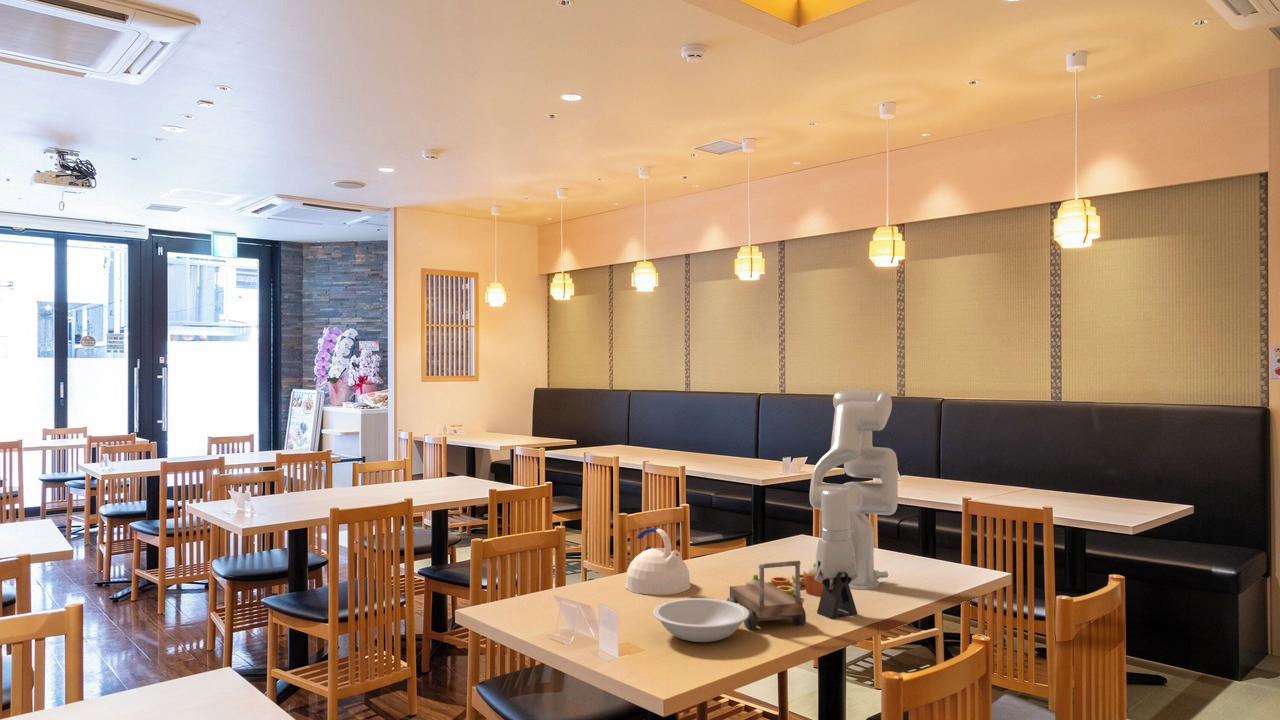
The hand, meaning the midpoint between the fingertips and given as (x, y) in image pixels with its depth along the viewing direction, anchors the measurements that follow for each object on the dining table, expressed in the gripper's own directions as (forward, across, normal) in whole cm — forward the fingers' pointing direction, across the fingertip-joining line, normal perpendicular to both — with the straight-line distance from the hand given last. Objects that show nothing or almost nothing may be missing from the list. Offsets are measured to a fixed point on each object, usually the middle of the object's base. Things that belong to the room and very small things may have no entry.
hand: (836, 602), depth 225 cm
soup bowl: (+3, +41, +6) cm, 42 cm away
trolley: (+3, +20, -2) cm, 21 cm away
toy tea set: (+5, +3, -22) cm, 23 cm away
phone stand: (+3, 0, 0) cm, 3 cm away
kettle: (+4, +38, -43) cm, 57 cm away
